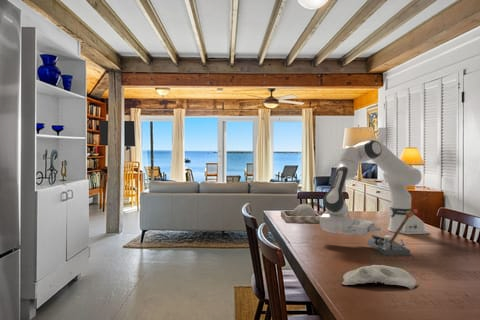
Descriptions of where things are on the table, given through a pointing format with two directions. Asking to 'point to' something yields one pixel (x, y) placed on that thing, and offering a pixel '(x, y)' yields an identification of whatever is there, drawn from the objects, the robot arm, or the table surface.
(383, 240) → the block
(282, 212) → the driftwood frame
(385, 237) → the button
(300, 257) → the table surface
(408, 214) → the lever
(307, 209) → the seashell
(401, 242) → the stub toggle
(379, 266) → the stone
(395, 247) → the panel
